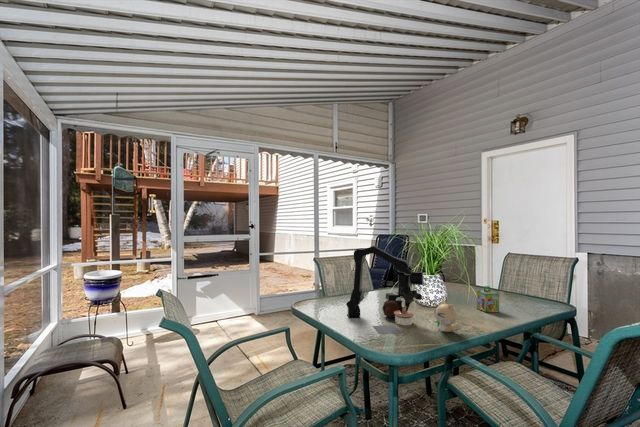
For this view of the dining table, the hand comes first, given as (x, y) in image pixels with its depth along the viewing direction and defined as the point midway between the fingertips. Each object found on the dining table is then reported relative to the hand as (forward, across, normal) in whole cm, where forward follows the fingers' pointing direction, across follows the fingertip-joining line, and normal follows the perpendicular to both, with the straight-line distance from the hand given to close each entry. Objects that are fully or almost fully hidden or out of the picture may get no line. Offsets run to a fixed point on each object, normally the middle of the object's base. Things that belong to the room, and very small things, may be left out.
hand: (403, 312), depth 170 cm
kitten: (+6, +16, -14) cm, 22 cm away
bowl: (+6, 0, 0) cm, 6 cm away
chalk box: (+6, +61, +14) cm, 63 cm away
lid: (+1, 0, 0) cm, 1 cm away
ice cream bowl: (+2, +1, +18) cm, 18 cm away
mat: (+6, -13, -9) cm, 17 cm away
